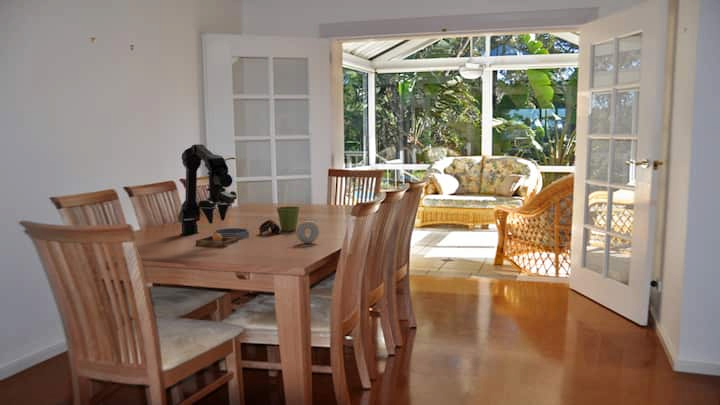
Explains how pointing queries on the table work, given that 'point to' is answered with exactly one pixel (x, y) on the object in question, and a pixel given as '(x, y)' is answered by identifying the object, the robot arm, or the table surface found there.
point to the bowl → (233, 233)
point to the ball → (217, 238)
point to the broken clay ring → (272, 225)
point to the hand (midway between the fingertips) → (217, 222)
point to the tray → (209, 242)
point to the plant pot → (288, 217)
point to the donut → (303, 227)
